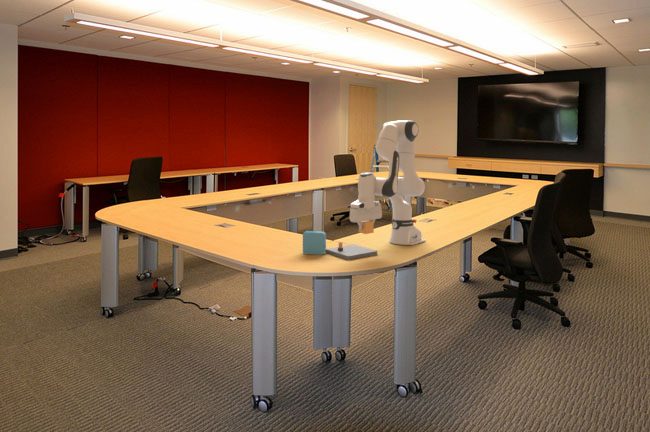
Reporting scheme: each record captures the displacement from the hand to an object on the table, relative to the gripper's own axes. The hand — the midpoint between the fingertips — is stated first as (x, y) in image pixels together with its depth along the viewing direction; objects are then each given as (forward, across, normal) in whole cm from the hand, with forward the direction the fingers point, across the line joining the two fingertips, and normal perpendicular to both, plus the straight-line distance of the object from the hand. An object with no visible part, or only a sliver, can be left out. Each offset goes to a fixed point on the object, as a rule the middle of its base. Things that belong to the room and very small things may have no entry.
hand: (366, 228), depth 275 cm
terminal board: (+14, +6, -6) cm, 16 cm away
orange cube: (+2, 0, 0) cm, 2 cm away
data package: (+14, +22, -18) cm, 31 cm away
